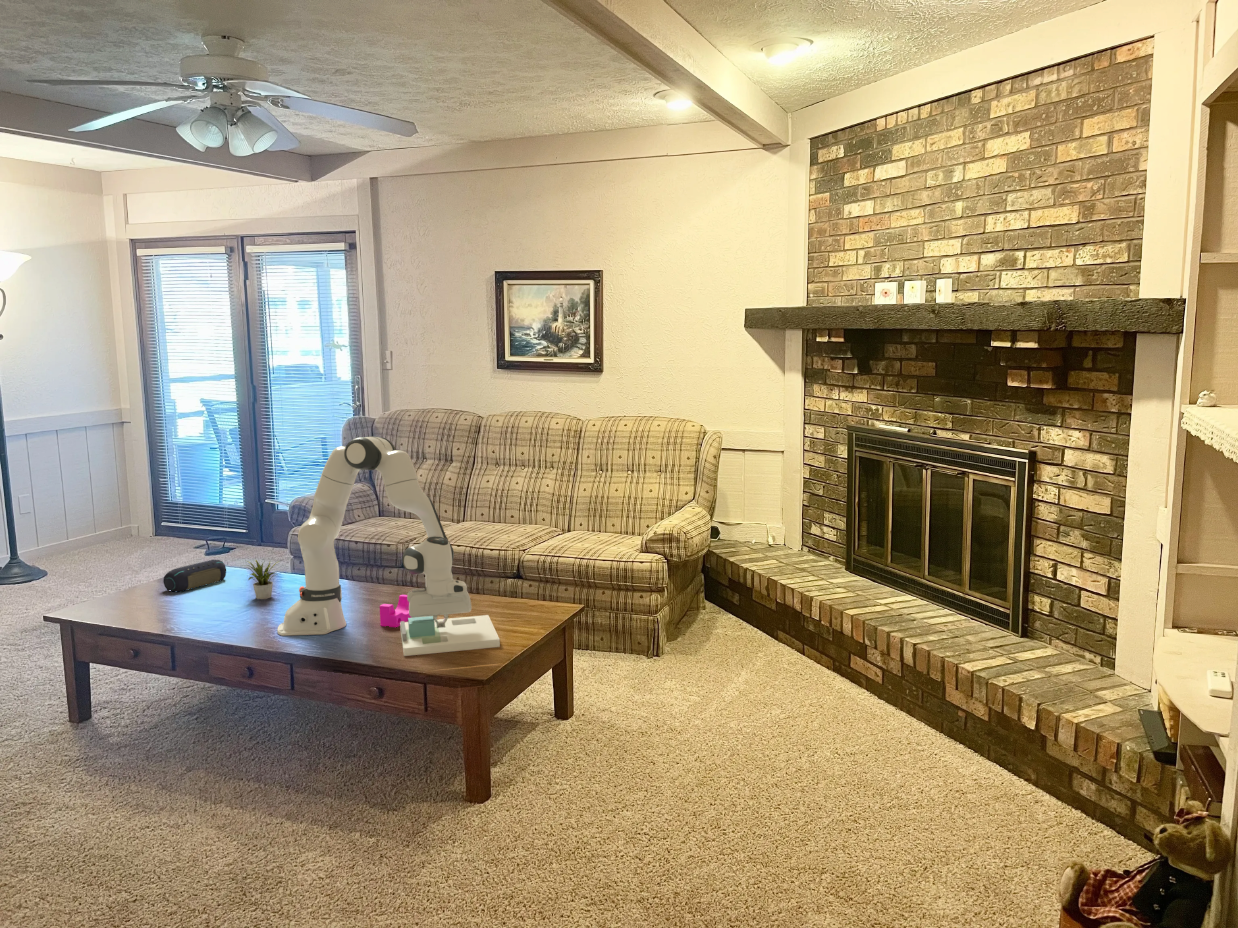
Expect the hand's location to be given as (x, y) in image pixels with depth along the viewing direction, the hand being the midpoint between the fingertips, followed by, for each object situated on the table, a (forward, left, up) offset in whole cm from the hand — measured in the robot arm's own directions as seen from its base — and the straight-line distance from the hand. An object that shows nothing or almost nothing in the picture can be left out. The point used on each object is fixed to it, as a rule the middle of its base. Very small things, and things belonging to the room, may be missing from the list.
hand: (440, 627), depth 305 cm
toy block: (-13, +25, -4) cm, 28 cm away
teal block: (-6, 0, -1) cm, 6 cm away
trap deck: (+2, 0, -4) cm, 4 cm away
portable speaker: (-90, +97, -4) cm, 132 cm away
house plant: (-63, +70, -4) cm, 94 cm away
